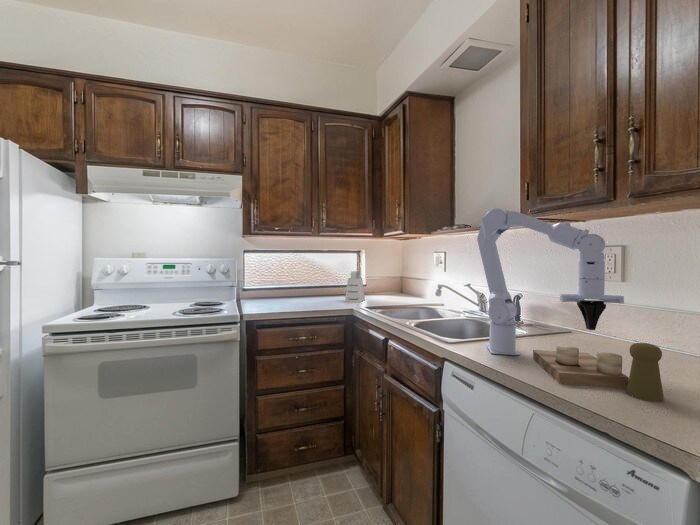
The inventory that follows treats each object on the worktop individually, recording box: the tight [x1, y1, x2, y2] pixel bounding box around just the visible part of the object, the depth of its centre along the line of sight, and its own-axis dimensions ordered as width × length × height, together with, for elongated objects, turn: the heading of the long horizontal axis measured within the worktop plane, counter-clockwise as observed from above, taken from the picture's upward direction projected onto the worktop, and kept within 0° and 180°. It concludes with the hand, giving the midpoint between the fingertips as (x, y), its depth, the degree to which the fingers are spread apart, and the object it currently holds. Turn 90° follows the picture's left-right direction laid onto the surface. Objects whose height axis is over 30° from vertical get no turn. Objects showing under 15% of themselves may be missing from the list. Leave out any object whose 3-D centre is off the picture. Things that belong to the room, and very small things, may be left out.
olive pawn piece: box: [626, 342, 665, 403], centre depth 73 cm, size 6×6×11 cm
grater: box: [344, 270, 366, 304], centre depth 223 cm, size 10×10×20 cm
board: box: [532, 349, 629, 389], centre depth 88 cm, size 20×14×6 cm
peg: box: [555, 344, 580, 367], centre depth 87 cm, size 5×5×6 cm
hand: (590, 329), depth 93 cm, fingers closed
